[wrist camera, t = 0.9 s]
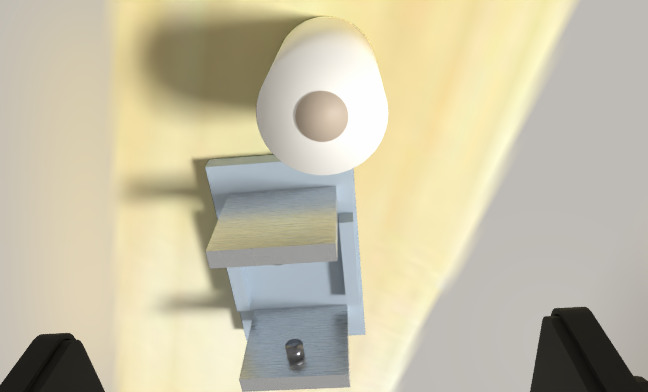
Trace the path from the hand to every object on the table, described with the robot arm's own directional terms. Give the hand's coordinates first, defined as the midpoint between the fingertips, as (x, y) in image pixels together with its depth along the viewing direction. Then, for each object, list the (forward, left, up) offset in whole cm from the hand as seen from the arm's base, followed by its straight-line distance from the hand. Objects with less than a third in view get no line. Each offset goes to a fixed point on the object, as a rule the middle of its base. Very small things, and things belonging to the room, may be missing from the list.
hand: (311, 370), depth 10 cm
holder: (+9, -3, -18) cm, 20 cm away
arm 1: (+5, -3, -16) cm, 17 cm away
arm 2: (+14, -3, -16) cm, 22 cm away
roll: (-2, 0, -18) cm, 18 cm away
